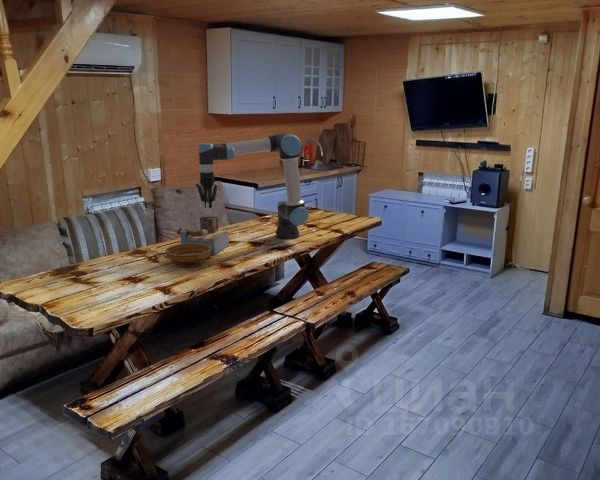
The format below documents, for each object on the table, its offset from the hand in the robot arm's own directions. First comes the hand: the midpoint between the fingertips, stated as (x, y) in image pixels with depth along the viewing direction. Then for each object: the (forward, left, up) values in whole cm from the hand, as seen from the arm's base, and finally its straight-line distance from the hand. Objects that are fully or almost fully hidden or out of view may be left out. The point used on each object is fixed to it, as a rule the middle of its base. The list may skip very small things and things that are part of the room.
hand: (208, 213), depth 301 cm
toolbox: (+6, -4, -22) cm, 24 cm away
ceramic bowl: (+2, +23, -23) cm, 32 cm away
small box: (+20, -41, -23) cm, 51 cm away
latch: (+12, 0, -13) cm, 18 cm away
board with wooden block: (+3, -4, -14) cm, 15 cm away
